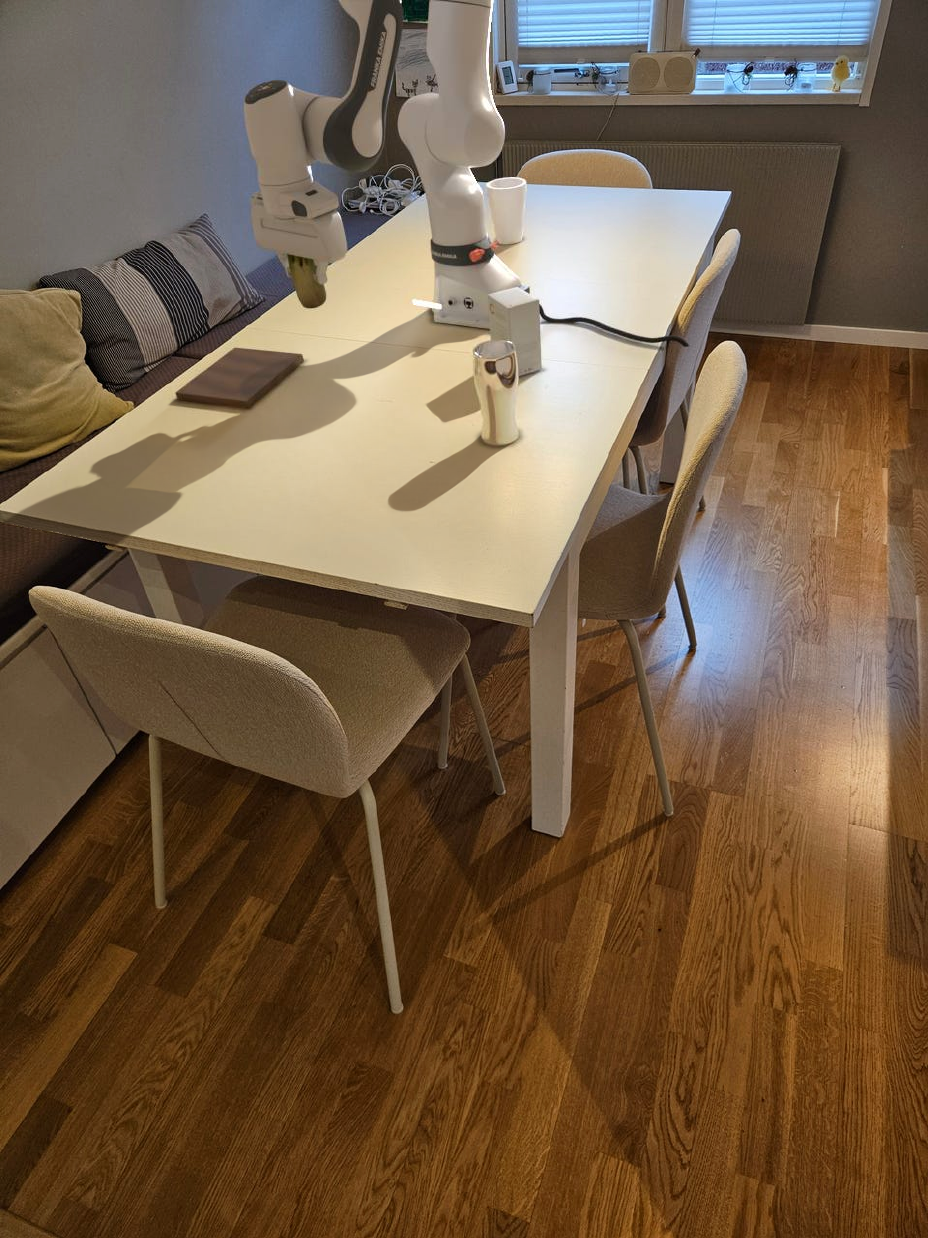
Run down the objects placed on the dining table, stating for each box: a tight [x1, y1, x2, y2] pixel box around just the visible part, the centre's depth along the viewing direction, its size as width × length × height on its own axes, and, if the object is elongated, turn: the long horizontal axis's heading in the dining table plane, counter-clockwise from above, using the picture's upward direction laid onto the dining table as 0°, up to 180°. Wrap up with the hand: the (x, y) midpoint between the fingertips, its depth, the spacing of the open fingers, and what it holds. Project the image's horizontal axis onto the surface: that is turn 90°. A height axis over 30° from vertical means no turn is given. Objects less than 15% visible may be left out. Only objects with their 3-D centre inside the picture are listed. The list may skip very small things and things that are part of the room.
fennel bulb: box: [287, 254, 327, 309], centre depth 152 cm, size 6×5×12 cm
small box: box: [488, 287, 543, 378], centre depth 156 cm, size 8×6×13 cm
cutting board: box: [174, 347, 305, 410], centre depth 166 cm, size 20×16×2 cm
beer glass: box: [472, 339, 520, 446], centre depth 136 cm, size 7×7×15 cm
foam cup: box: [485, 176, 528, 245], centre depth 209 cm, size 10×9×13 cm
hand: (307, 279), depth 153 cm, fingers closed on fennel bulb, 6 cm apart
